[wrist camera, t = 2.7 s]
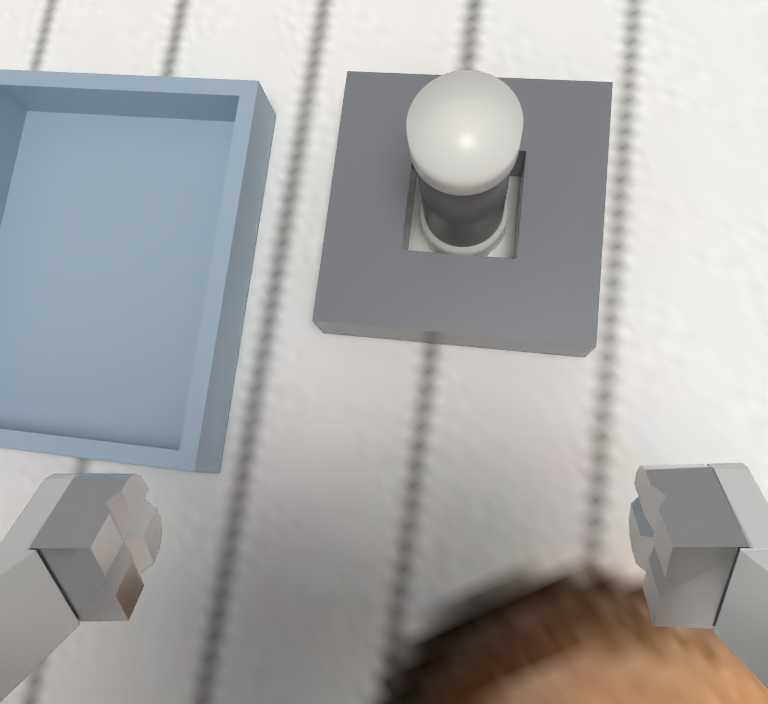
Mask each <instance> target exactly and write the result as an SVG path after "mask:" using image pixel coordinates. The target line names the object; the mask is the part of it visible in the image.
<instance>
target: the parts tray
mask: <svg viewBox="0 0 768 704" xmlns="http://www.w3.org/2000/svg"><path fill="white" fill-rule="evenodd" d="M275 119H276V114H275V112H274V110H273V109H272V107H271V105H270V103H269V101H268V99H267V97H266V95H265V93H264V91H263V89H262V87H261V85H260V83H259V81H250V80H227V79H205V78H182V77H159V76H136V75H113V74H90V73H68V72H45V71H22V70H0V448H6V449H14V450H22V451H30V452H38V453H46V454H54V455H63V456H71V457H79V458H87V459H95V460H103V461H111V462H119V463H127V464H135V465H143V466H151V467H159V468H167V469H175V470H183V471H191V472H220V466H221V460H222V453H223V447H224V441H225V434H226V428H227V422H228V415H229V409H230V403H231V396H232V390H233V384H234V378H235V371H236V365H237V359H238V352H239V346H240V340H241V333H242V327H243V321H244V314H245V308H246V302H247V295H248V289H249V283H250V276H251V270H252V264H253V258H254V251H255V245H256V239H257V232H258V226H259V220H260V213H261V207H262V201H263V194H264V188H265V182H266V175H267V169H268V163H269V156H270V150H271V144H272V137H273V131H274V125H275Z"/></svg>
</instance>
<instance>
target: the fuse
mask: <svg viewBox="0 0 768 704" xmlns="http://www.w3.org/2000/svg"><path fill="white" fill-rule="evenodd" d="M406 130H407V138H408V144H409V151H410V156H411V160H412V163H413V166H414V168H415V170H416V171H417V173H418V175H419V182H420V189H421V196H422V199H421V203H420V219H421V226H422V231H423V235H424V238H425V240H426V242H427V243H428V245H429V246H430V247H431V249H432V250H433V251H434V252H436V253H445V254H458V255H471V256H486V255H488V254H489V253H491V252H492V251H493V250H494V249H495V248H496V247H497V246H498V244H499V243H500V241H501V240H502V237H503V235H504V232H505V228H506V222H507V216H508V201H507V197H506V194H507V188H508V181H509V175H510V171H511V170H512V168H513V167H514V165H515V162H516V160H517V157H518V154H519V148H520V142H521V136H522V131H523V112H522V108H521V105H520V102H519V100H518V98H517V97H516V95H515V93H514V92H513V91H512V90H511V88H510V87H509V86H508V85H506V84H505V83H504V82H503V81H501V80H500V79H498V78H496V77H494V76H492V75H490V74H487V73H484V72H480V71H473V70H461V71H454V72H451V73H447V74H444V75H442V76H440V77H438V78H436V79H434V80H432V81H431V82H430V83H428V84H427V85H426V86H425V87H424V88H422V89H421V91H420V92H419V93H418V94H417V95H416V97H415V98H414V100H413V102H412V104H411V106H410V108H409V111H408V115H407V121H406Z"/></svg>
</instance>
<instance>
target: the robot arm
mask: <svg viewBox="0 0 768 704" xmlns="http://www.w3.org/2000/svg"><path fill="white" fill-rule="evenodd" d="M634 484H635V487H636V490H637V493H638V498H637V499H636V500H635V501H633V502H632V503H631V508H630V516H629V530H630V540H631V546H632V551H633V554H634V558H635V562H636V564H638V565H639V566H640V567H641V568H642V569H643V570H644V571H646V574H645V580H644V585H643V590H644V593H645V596H646V600H647V603H648V606H649V610H650V613H651V617H652V620H653V623H654V626H656V627H683V628H710V629H714V632H715V633H716V634H717V636H718V637H719V638H720V639H721V640H722V641H723V642H724V643H725V644H726V645H727V646H728V647H729V648H730V649H731V650H732V651H733V652H734V653H735V654H736V655H737V657H738V658H739V659H740V660H741V661H742V662H743V663H744V664H745V665H746V666H747V667H748V668H749V669H750V670H751V671H752V672H753V673H754V674H755V675H756V677H757V678H758V679H759V680H760V681H761V682H762V683H763V684H764V685H765V686H766V687H767V688H768V503H767V502H766V500H765V498H764V496H763V494H762V492H761V490H760V489H759V487H758V485H757V483H756V481H755V479H754V478H753V476H752V474H751V472H750V470H749V468H748V467H747V466H745V465H744V464H743V463H726V464H707V465H705V464H689V465H649V466H639V468H638V470H637V472H636V478H635V483H634ZM148 490H149V489H148V487H147V485H146V483H145V481H144V479H143V477H142V476H140V475H136V474H53V475H51V476H49V477H48V478H46V479H45V480H44V481H43V483H42V484H41V486H40V487H39V489H38V490H37V491H36V493H35V494H34V496H33V497H32V499H31V500H30V502H29V503H28V505H27V506H26V507H25V509H24V510H23V512H22V513H21V515H20V516H19V518H18V519H17V521H16V522H15V523H14V525H13V526H12V528H11V529H10V531H9V532H8V534H7V535H6V537H5V538H4V539H3V541H2V542H1V544H0V702H1V701H2V700H3V699H4V698H5V697H6V696H7V695H8V694H9V693H10V692H11V691H12V690H13V689H14V688H15V687H16V686H17V685H18V684H19V683H20V682H21V681H22V680H23V679H25V678H26V677H27V676H28V675H29V674H30V673H31V672H32V671H33V670H34V669H35V668H36V667H37V666H38V665H39V664H40V663H41V662H42V661H43V660H44V659H45V658H46V657H47V656H48V655H49V654H50V653H51V652H52V651H53V650H54V649H55V648H56V647H57V646H58V645H59V644H60V643H61V642H62V641H63V640H64V639H65V638H66V637H67V636H68V635H69V634H70V633H71V632H72V631H73V630H75V629H76V628H77V627H78V626H79V625H80V623H79V621H129V618H130V616H131V614H132V612H133V609H134V607H135V605H136V602H137V600H138V598H139V596H140V593H141V591H142V589H143V587H144V584H143V581H142V578H141V575H140V574H141V573H142V572H143V571H144V570H146V569H147V568H148V567H149V566H150V565H152V564H153V563H154V561H155V559H156V556H157V554H158V551H159V549H160V543H161V535H162V526H161V519H160V516H159V513H158V511H157V508H156V507H154V506H153V505H152V504H150V503H149V502H148V501H146V500H145V499H144V498H145V496H146V494H147V492H148Z"/></svg>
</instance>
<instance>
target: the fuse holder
mask: <svg viewBox="0 0 768 704" xmlns="http://www.w3.org/2000/svg"><path fill="white" fill-rule="evenodd" d="M440 76H442V75H424V74H400V73H376V72H351V71H347V78H346V85H345V92H344V100H343V107H342V114H341V121H340V128H339V135H338V143H337V150H336V157H335V164H334V171H333V178H332V186H331V193H330V200H329V207H328V214H327V221H326V229H325V236H324V243H323V250H322V257H321V264H320V272H319V279H318V286H317V293H316V300H315V307H314V315H313V322H314V323H315V324H316V325H317V326H318V327H319V328H320V329H321V330H322V331H323V332H324V333H331V334H341V335H352V336H363V337H373V338H384V339H395V340H405V341H416V342H427V343H437V344H448V345H459V346H469V347H480V348H491V349H501V350H512V351H523V352H534V353H544V354H555V355H566V356H576V357H586V356H587V355H588V354H589V353H590V352H591V351H592V350H593V349H594V348H595V347H596V340H597V324H598V308H599V292H600V276H601V260H602V244H603V228H604V212H605V196H606V180H607V164H608V148H609V132H610V116H611V100H612V84H613V82H594V81H570V80H546V79H522V78H498V79H500V80H501V81H503V82H504V83H505V84H506V85H508V86H509V87H510V88H511V90H512V91H513V92H514V93H515V95H516V97H517V98H518V100H519V102H520V105H521V108H522V112H523V131H522V136H521V142H520V148H519V154H518V157H517V160H516V162H515V165H514V167H513V168H512V170H511V171H510V176H521V182H520V193H519V205H518V216H517V228H516V239H515V251H514V259H511V258H498V257H485V256H471V255H458V254H445V253H432V252H419V251H408V244H409V235H410V227H411V218H412V209H413V201H414V192H415V184H416V175H417V171H416V170H415V168H414V166H413V163H412V160H411V156H410V151H409V144H408V138H407V130H406V121H407V115H408V111H409V108H410V106H411V104H412V102H413V100H414V98H415V97H416V95H417V94H418V93H419V92H420V91H421V89H422V88H424V87H425V86H426V85H427V84H428V83H430V82H431V81H432V80H434V79H436V78H438V77H440ZM496 78H497V77H496Z"/></svg>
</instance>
